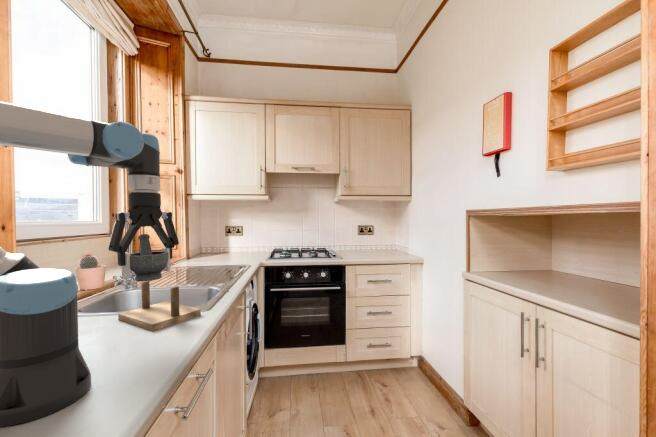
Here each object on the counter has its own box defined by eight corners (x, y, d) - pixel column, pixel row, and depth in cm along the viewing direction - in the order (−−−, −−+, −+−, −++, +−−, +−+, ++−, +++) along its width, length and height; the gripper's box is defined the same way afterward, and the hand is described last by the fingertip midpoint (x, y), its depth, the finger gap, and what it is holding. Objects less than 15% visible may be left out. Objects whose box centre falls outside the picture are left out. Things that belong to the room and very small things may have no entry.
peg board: (152, 331, 89) (151, 293, 89) (118, 319, 100) (117, 286, 99) (200, 315, 103) (199, 282, 103) (166, 306, 113) (165, 276, 113)
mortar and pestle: (172, 278, 82) (170, 234, 82) (131, 284, 76) (129, 236, 76) (162, 273, 91) (161, 232, 91) (124, 277, 85) (123, 234, 85)
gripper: (103, 189, 71) (106, 284, 72) (191, 193, 90) (193, 268, 91) (89, 190, 75) (92, 281, 76) (176, 194, 94) (178, 266, 95)
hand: (147, 274), depth 83 cm, fingers closed on mortar and pestle, 10 cm apart
